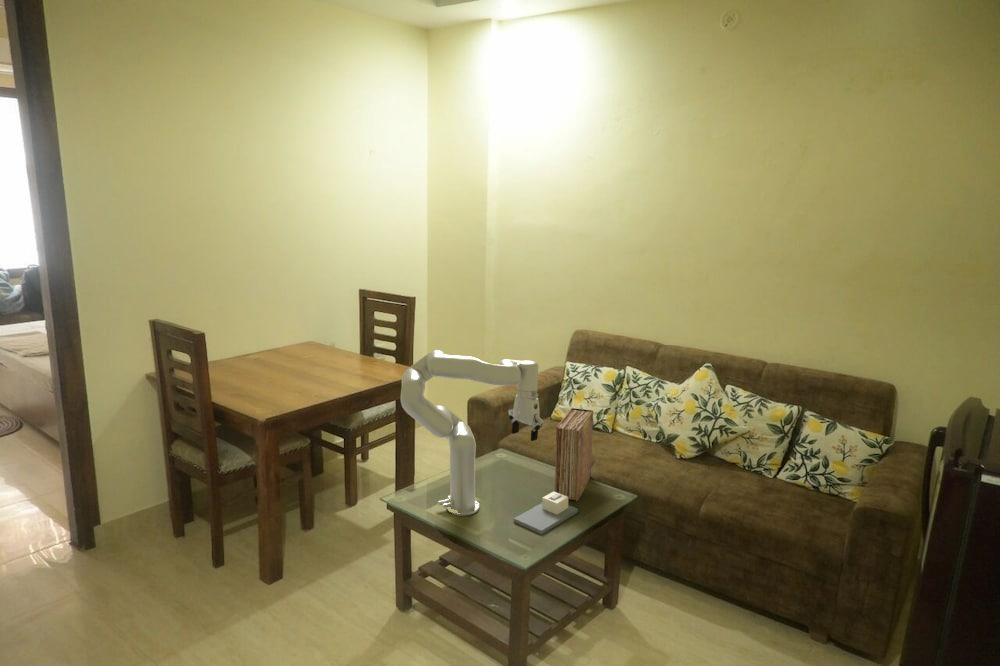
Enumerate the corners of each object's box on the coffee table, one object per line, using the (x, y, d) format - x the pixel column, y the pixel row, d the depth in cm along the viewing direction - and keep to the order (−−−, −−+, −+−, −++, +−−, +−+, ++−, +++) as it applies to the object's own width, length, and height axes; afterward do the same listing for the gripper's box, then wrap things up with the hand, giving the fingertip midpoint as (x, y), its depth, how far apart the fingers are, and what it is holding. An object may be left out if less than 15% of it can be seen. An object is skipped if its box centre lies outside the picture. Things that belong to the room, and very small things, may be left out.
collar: (556, 514, 229) (557, 503, 228) (542, 508, 233) (542, 497, 232) (568, 507, 234) (568, 496, 233) (553, 502, 238) (553, 491, 237)
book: (577, 502, 241) (579, 430, 235) (554, 498, 244) (555, 427, 238) (591, 476, 264) (593, 410, 258) (570, 473, 268) (571, 407, 262)
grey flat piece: (541, 534, 218) (541, 517, 216) (513, 522, 226) (513, 505, 225) (577, 512, 233) (578, 496, 232) (550, 501, 242) (551, 486, 241)
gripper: (550, 397, 229) (548, 440, 232) (516, 386, 240) (514, 428, 244) (537, 400, 223) (535, 445, 227) (503, 389, 235) (501, 432, 238)
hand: (524, 436), depth 235 cm, fingers open, 9 cm apart
